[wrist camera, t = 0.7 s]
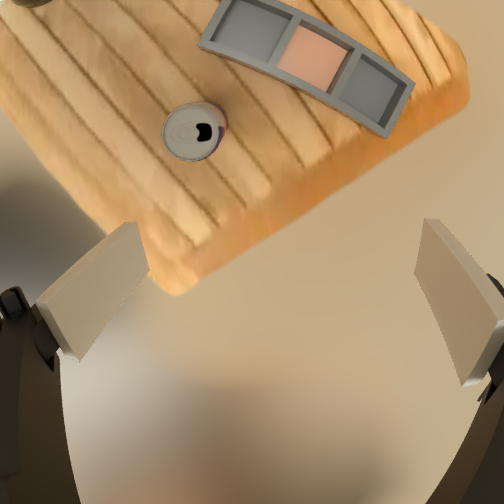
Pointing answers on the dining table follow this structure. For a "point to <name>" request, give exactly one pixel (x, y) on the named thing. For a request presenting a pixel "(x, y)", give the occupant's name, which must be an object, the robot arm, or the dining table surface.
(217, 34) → the compartment tray
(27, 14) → the dining table surface
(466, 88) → the dining table surface
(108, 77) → the dining table surface
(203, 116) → the energy drink
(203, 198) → the dining table surface
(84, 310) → the robot arm
